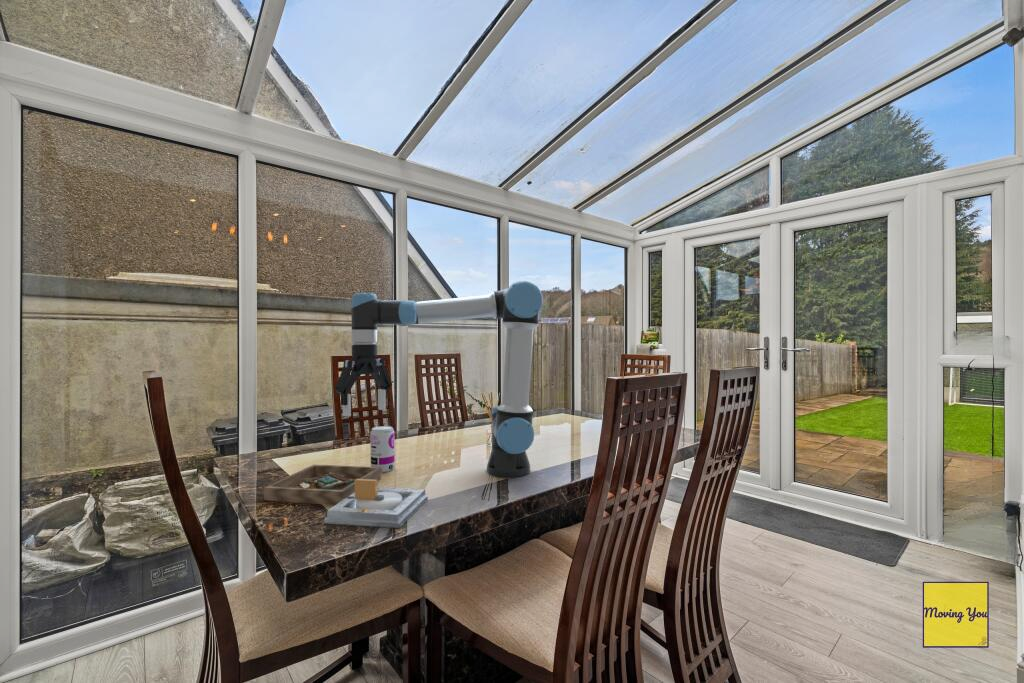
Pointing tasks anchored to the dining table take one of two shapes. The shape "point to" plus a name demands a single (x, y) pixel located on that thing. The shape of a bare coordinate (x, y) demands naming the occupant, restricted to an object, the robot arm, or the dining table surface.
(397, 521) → the dial panel
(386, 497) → the dial
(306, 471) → the book tray
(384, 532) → the dining table surface
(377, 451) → the supplement can
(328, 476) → the decorative book
